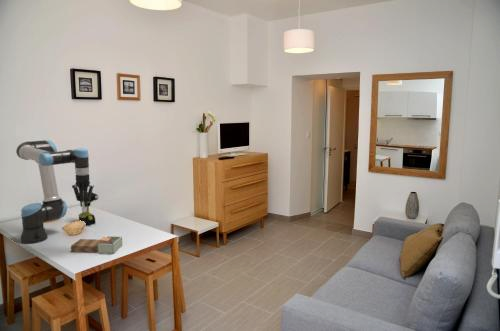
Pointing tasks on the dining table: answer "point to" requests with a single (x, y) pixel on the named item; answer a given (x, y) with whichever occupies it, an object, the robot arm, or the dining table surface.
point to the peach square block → (105, 240)
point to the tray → (110, 246)
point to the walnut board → (85, 246)
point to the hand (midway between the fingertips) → (84, 211)
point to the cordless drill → (87, 216)
